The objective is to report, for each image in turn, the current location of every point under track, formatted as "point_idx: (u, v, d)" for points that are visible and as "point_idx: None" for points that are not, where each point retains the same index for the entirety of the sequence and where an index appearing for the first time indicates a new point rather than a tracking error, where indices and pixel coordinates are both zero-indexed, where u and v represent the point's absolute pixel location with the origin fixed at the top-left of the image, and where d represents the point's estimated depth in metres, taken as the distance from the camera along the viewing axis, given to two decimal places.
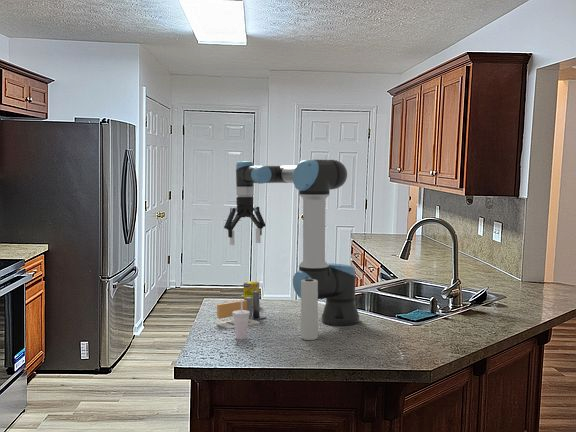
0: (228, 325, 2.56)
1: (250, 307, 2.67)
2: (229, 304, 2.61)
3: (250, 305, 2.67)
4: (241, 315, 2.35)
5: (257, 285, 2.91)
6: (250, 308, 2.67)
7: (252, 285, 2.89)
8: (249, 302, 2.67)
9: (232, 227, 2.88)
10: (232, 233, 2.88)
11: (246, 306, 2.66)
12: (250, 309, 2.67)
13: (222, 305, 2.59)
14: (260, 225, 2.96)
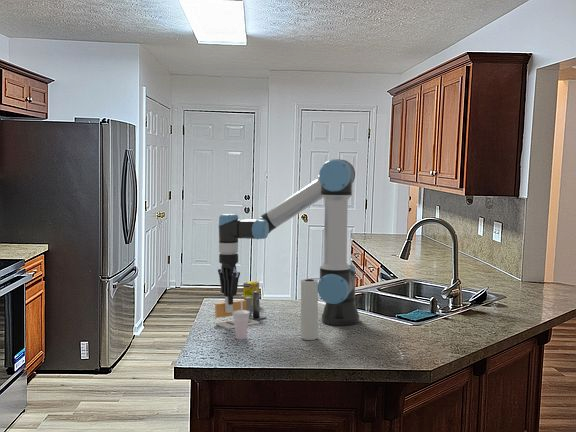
0: (228, 325, 2.56)
1: (249, 307, 2.67)
2: None
3: (249, 305, 2.67)
4: (241, 315, 2.35)
5: (257, 285, 2.91)
6: (249, 308, 2.67)
7: (252, 285, 2.89)
8: (248, 302, 2.67)
9: (224, 292, 2.61)
10: None
11: (245, 306, 2.67)
12: (249, 308, 2.67)
13: (220, 304, 2.61)
14: (228, 293, 2.59)
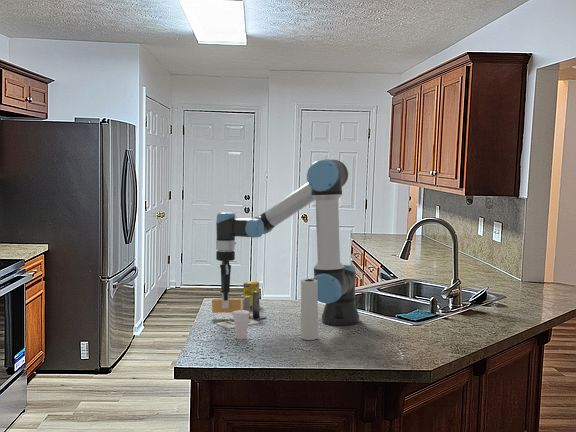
0: (228, 325, 2.56)
1: (247, 306, 2.69)
2: None
3: (247, 304, 2.69)
4: (241, 315, 2.35)
5: (257, 285, 2.91)
6: (247, 307, 2.69)
7: (252, 285, 2.89)
8: (246, 301, 2.69)
9: (222, 288, 2.69)
10: None
11: (243, 304, 2.69)
12: (246, 307, 2.69)
13: (215, 300, 2.70)
14: None
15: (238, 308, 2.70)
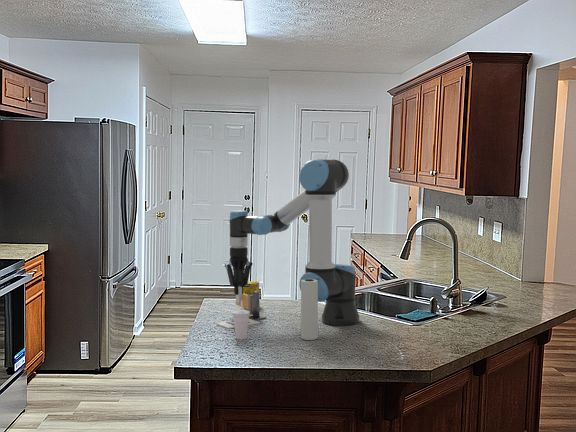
0: (228, 325, 2.56)
1: (249, 304, 2.73)
2: None
3: (249, 302, 2.73)
4: (241, 315, 2.35)
5: (257, 285, 2.91)
6: (249, 305, 2.73)
7: (252, 285, 2.89)
8: (249, 299, 2.73)
9: None
10: None
11: None
12: (249, 305, 2.73)
13: None
14: None
15: (246, 305, 2.76)
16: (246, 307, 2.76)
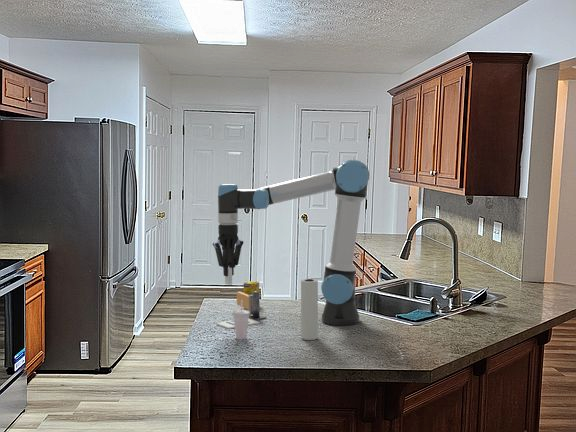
0: (228, 325, 2.56)
1: (249, 304, 2.73)
2: (241, 294, 2.81)
3: (249, 302, 2.73)
4: (241, 315, 2.35)
5: (257, 285, 2.91)
6: (249, 305, 2.73)
7: (252, 285, 2.89)
8: (249, 299, 2.73)
9: (229, 263, 2.58)
10: None
11: (249, 302, 2.74)
12: (249, 305, 2.73)
13: (238, 293, 2.84)
14: None
15: (247, 305, 2.76)
16: (246, 307, 2.76)
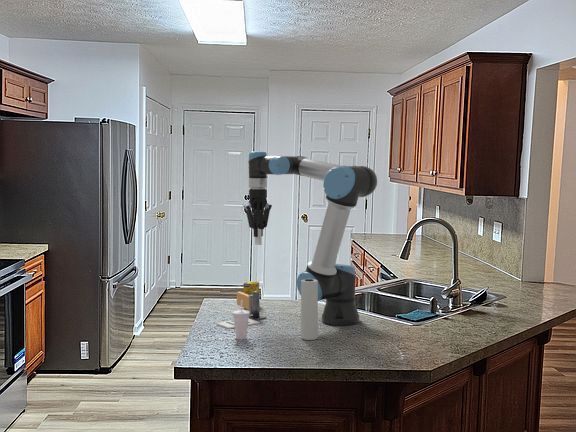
0: (228, 325, 2.56)
1: (249, 304, 2.73)
2: (241, 294, 2.81)
3: (249, 302, 2.73)
4: (241, 315, 2.35)
5: (257, 285, 2.91)
6: (249, 305, 2.73)
7: (252, 285, 2.89)
8: (249, 299, 2.73)
9: None
10: None
11: (249, 302, 2.74)
12: (249, 305, 2.73)
13: (238, 293, 2.84)
14: None
15: (247, 305, 2.76)
16: (246, 307, 2.76)
